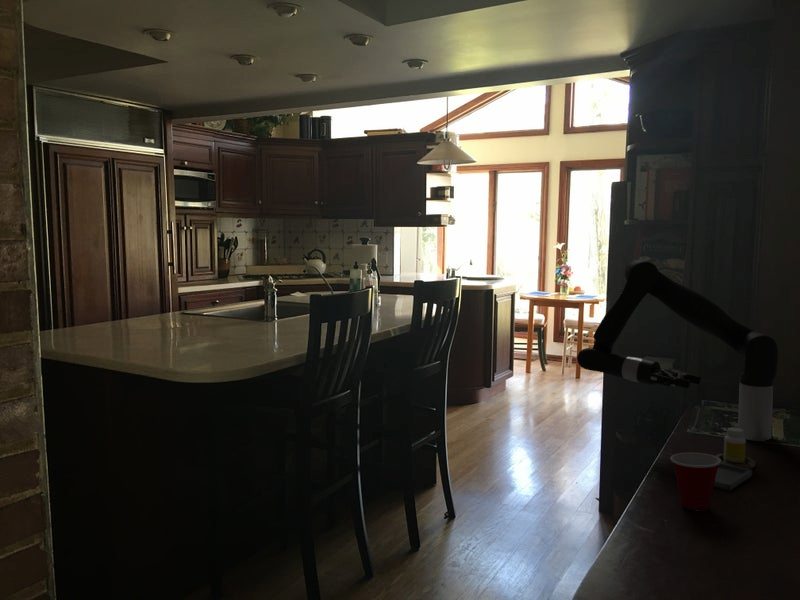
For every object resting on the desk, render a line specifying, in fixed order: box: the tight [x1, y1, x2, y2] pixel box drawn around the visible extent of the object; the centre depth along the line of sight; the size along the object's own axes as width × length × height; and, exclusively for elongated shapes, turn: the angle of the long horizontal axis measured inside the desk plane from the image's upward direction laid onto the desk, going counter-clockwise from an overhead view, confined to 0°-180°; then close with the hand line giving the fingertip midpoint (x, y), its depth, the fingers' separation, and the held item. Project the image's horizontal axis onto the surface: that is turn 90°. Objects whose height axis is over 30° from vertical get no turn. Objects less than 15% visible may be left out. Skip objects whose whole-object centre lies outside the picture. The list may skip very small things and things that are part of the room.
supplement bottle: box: [722, 427, 747, 464], centre depth 177 cm, size 5×5×10 cm
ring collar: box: [715, 453, 756, 470], centre depth 178 cm, size 10×10×1 cm
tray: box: [673, 462, 753, 492], centre depth 169 cm, size 15×14×2 cm
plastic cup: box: [669, 452, 722, 512], centre depth 149 cm, size 11×11×12 cm
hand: (695, 382), depth 184 cm, fingers open, 8 cm apart
